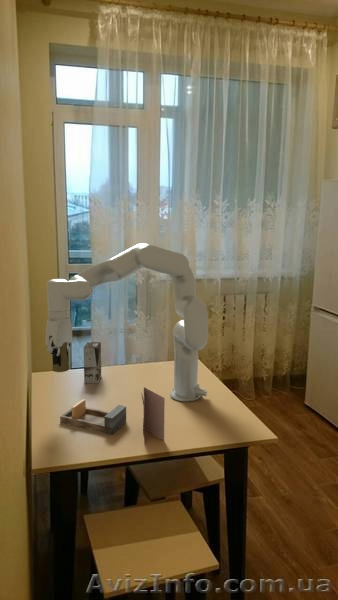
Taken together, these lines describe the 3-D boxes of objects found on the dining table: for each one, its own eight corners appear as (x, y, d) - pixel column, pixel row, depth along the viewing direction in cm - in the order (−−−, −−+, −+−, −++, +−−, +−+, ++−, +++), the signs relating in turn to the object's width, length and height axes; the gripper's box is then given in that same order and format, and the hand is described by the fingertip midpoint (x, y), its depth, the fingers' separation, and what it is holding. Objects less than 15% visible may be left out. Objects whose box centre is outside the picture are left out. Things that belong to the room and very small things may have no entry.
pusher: (85, 412, 159) (85, 399, 158) (74, 420, 153) (74, 407, 152) (83, 411, 159) (83, 399, 158) (72, 420, 153) (71, 407, 152)
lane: (126, 421, 155) (126, 406, 154) (112, 434, 146) (112, 418, 144) (76, 411, 162) (76, 396, 161) (60, 423, 153) (59, 407, 152)
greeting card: (141, 427, 151) (141, 386, 148) (162, 427, 151) (162, 386, 148) (141, 444, 140) (141, 401, 137) (164, 444, 140) (164, 400, 137)
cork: (60, 373, 153) (59, 343, 151) (48, 369, 156) (47, 340, 154) (72, 368, 158) (72, 339, 156) (61, 365, 161) (60, 336, 159)
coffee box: (98, 383, 189) (97, 347, 186) (83, 383, 190) (82, 347, 186) (101, 375, 198) (101, 341, 195) (87, 375, 198) (87, 341, 195)
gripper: (64, 308, 162) (65, 355, 165) (34, 318, 147) (37, 369, 150) (81, 310, 159) (82, 358, 163) (53, 320, 144) (55, 372, 148)
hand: (60, 363), depth 156 cm, fingers closed on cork, 3 cm apart
